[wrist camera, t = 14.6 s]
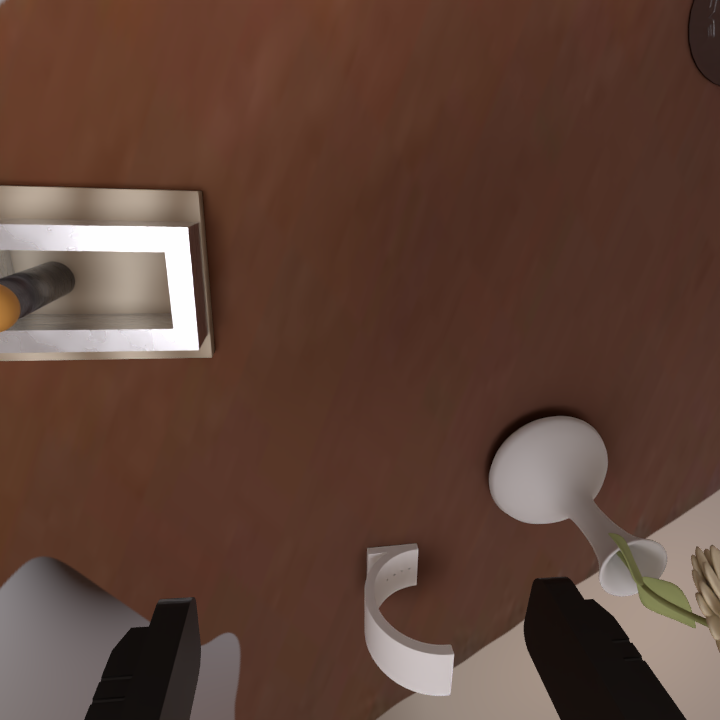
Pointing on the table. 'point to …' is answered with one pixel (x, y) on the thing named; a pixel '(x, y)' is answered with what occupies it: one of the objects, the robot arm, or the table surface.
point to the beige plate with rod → (95, 263)
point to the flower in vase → (595, 515)
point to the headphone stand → (387, 645)
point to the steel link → (112, 330)
